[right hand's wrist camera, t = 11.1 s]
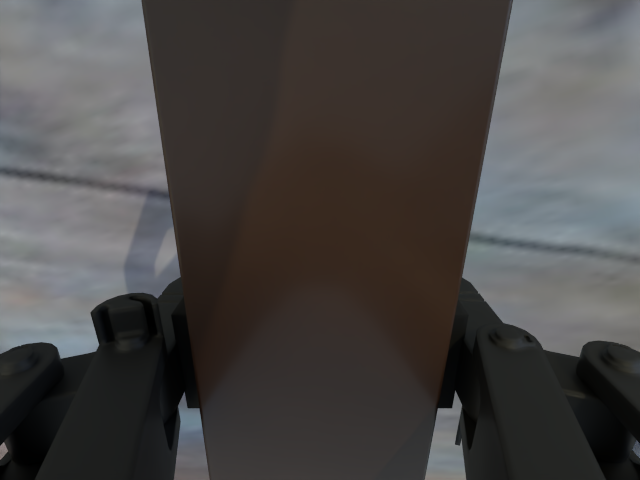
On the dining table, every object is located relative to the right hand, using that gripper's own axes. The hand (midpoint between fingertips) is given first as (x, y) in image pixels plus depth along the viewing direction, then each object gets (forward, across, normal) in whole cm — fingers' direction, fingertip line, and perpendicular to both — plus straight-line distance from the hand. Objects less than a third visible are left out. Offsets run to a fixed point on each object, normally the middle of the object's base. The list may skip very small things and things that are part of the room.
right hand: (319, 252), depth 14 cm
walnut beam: (0, 0, -11) cm, 11 cm away
